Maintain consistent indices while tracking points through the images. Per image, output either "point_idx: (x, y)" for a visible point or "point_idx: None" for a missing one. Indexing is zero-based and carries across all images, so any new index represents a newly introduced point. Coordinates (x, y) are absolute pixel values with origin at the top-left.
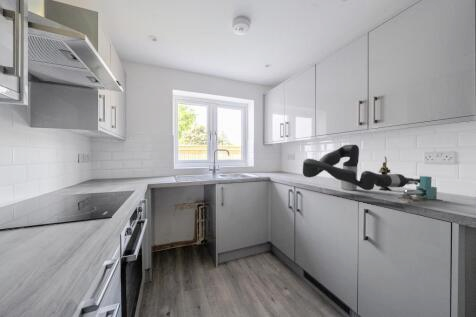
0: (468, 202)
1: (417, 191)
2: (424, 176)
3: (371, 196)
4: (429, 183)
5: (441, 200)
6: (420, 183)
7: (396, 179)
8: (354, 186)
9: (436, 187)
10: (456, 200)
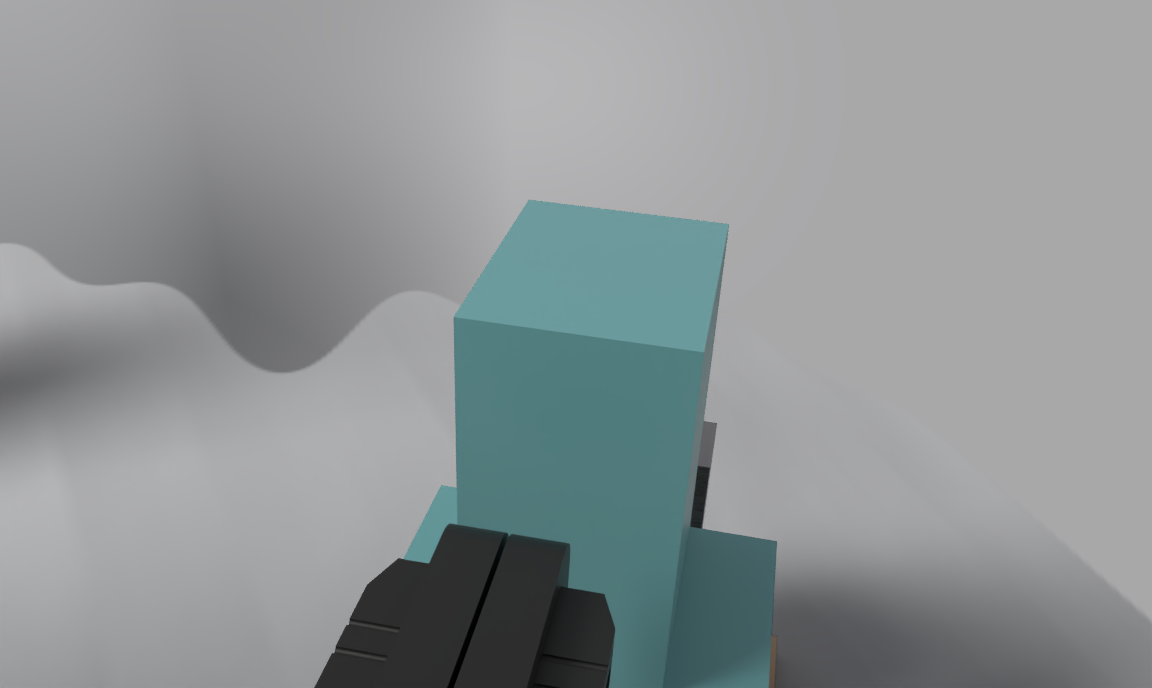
0: (898, 424)
1: None
2: (588, 279)
3: None
4: (695, 468)
5: (774, 662)
6: None
7: None
8: None
9: (714, 430)
10: (759, 417)
